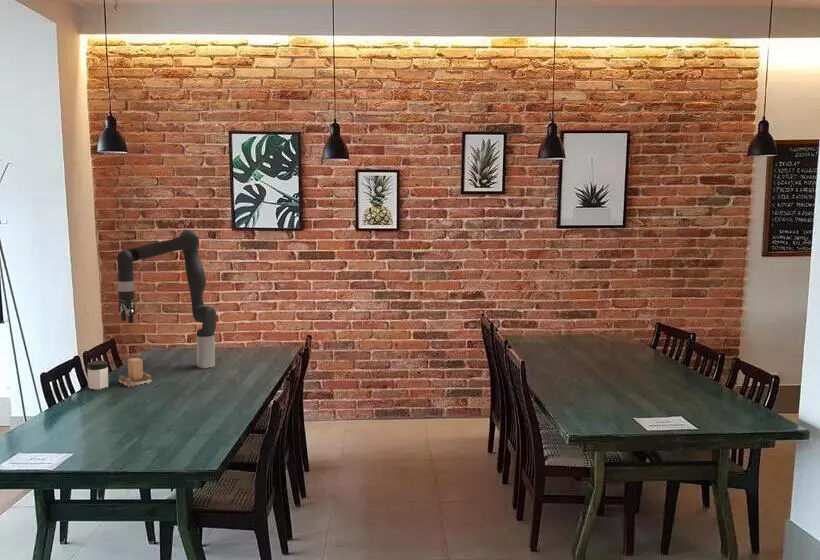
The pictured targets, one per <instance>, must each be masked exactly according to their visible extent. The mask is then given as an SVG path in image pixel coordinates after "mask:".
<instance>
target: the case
mask: <svg viewBox="0 0 820 560" xmlns="http://www.w3.org/2000/svg"><path fill="white" fill-rule="evenodd" d="M143 365H144V364H143V359H141V358H139V357H134V358H133V357H132V358H128V359H127V377H128V378H130V379H131V381H132V380H134V379H139V378H143V372H144V369H143V368H144V367H143Z"/></svg>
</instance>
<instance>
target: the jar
mask: <svg viewBox="0 0 820 560" xmlns="http://www.w3.org/2000/svg"><path fill="white" fill-rule="evenodd" d="M87 387H88V388H90V389H94V390H102V388H103V389H106V388H109V367H108V361H106V360H93V361H89V362H88V363H87ZM105 387H106V388H105ZM90 389H89V390H90Z"/></svg>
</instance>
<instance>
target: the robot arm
mask: <svg viewBox="0 0 820 560" xmlns="http://www.w3.org/2000/svg"><path fill="white" fill-rule="evenodd" d="M199 244H200V238H199V236H198V235H197V233H196V232H194V231H193V230H192V229H185V230H182V231H181V232H180V234H179V236H177V237H175V238H172V239H167V240H163V241H155V242H150V243H146V244H142V245H138V246H137V247H131V248H127V249H123V250H121V251H119V252H118V254H117V257H116V260H117V269H118V271H117V300H118V312H119V313H120V318H121V319H120V321H122V322H125V321H127V322H128V324H133V323H134V315H136V303H135V302H132V300H135V297H136V296H135V295H136V294H135V282H134V279H135V278H134V271H133V267H134V265H133V264H134V263H133V262H137V261H141V260H147V259H151V258H154V257H157V256H161V255H164V254H168V253H172V252H178V251H182V253H183V258H184V267H185V275H186V279H187V285H188V288H189V294H190V300H191V311H192V317H193V319H194V321H195V322H196V323H201V324H202V325H201V328H199V329H197V330H196V367H197V368H198V369H207V368H208V369H210V368H213V367H215V365H216V351H215V348H216V347H215V343H216V342H215V332H216V329H217V311H216V309H215V308H214V307H212V306H209V305H208V306H207V305H205V303H204V297H203V296H204V292H205V289H206V286H207V279H206V278H207V277H206V273H205V269H204V267H203V263H202V260H201V257H200V255H199V249H198V246H199ZM209 367H210V368H209Z"/></svg>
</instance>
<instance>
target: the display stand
mask: <svg viewBox="0 0 820 560" xmlns="http://www.w3.org/2000/svg"><path fill="white" fill-rule="evenodd" d="M118 378H119V379H118V383H119V382H120V383H119V384H121V383H122V384H121V385H123V384H124V385H123V386H125V385H126V386H125V387H127V386H128V388H131V387H130V386H132V387H136V386H135V385H137V386H141V385H140V384H142V385H145V384H144V383H147V384H151V383H150V382H153V381H152V375H150V374H148V373H146V372H144V371H143V378H139V379H134V380H132V381H131V379H130V378H128V376H125V375H123V374H121V375H119V376H118Z"/></svg>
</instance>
